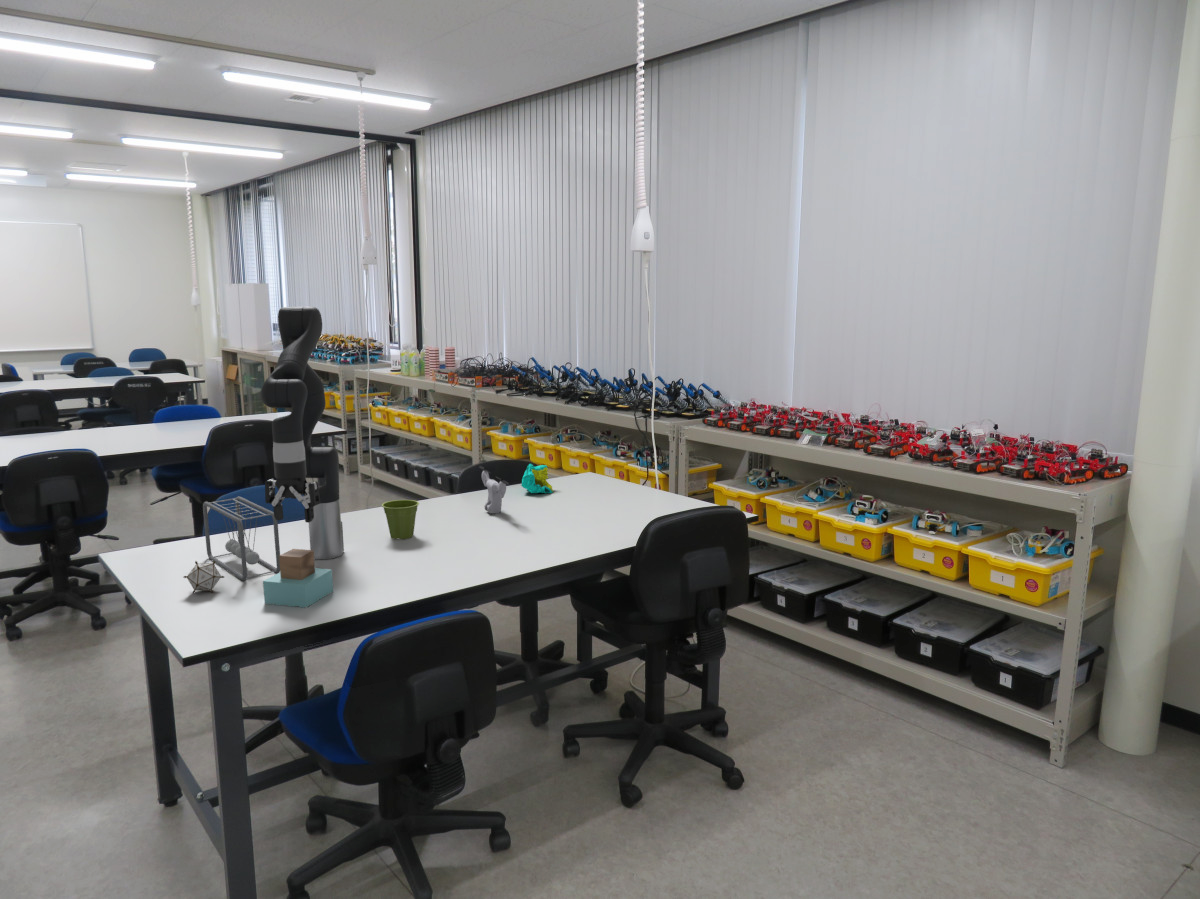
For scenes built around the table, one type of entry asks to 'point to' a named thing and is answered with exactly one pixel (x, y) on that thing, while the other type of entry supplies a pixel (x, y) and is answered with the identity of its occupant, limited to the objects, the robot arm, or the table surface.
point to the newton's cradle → (241, 537)
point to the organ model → (536, 479)
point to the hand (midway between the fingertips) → (294, 520)
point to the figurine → (493, 492)
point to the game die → (204, 576)
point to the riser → (298, 589)
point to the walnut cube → (297, 564)
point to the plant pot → (401, 517)
